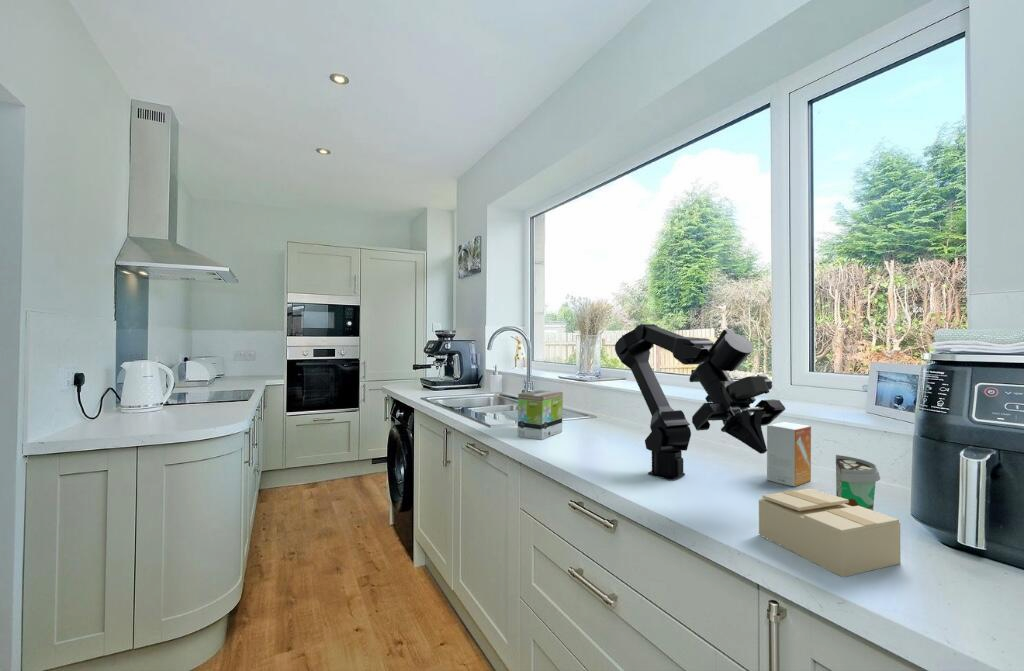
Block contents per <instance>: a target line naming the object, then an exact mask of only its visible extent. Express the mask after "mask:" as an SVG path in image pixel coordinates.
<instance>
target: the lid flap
mask: <svg viewBox="0 0 1024 671" xmlns="http://www.w3.org/2000/svg"><path fill="white" fill-rule="evenodd" d="M761 498H762V499H766V500H769V501H772V502H775V503H778V504H781V505H784V506H786V507H789V508H792V509H795V510H798V511H802V510H808V509H814V508H821V507H827V506H833V505H839V504H845V503H849V500H848V499H844V498H841V497H837V496H836V495H833V494H830V493H826V492H822V491H820V490H817V489H814V488H813V489H812V488H805V489H803V488H802V489H797V490H786V491H781V492H776V493H767V494H762V496H761Z"/></svg>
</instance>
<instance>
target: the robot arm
mask: <svg viewBox="0 0 1024 671" xmlns="http://www.w3.org/2000/svg"><path fill="white" fill-rule="evenodd" d="M719 334H720V335H719V336H718V338H717V339H716V341H715V342H713V341H712V340H711V339H709V338H705V337H704V338H702V337H691V336H684V335H680V334H678V333H675V332H673V331H670V330H668V329H665V328H662V327H659V326H658V325H656V324H654V323H653V324H652V323H650V324H647V323H643V324H642V323H641V324H638V325H637V326H636V327H635V328H633V330H630V331H629V332H627V333H625V334H623V335H621V337H619V338H618V340H617V341H616V342H615V344H614V352H615V354H616V355H617V357H618V358H619V360H620V362H621V363H622V364H624V365H625V366H626V367H627V368H628V369H629V370H631V372H632V375H633V377H634V379H635V381H636V384H637V385H638V388H639V390H640V393H641V395H642V397H643V400H644V401H645V403H646V405H647V409H648V411H649V413H650V414H651V418H650V419H651V420H650V426H649V428H650V431H651V432H650V433H649V434H648V435H647V437H646V438H645V440H644V444H645V449H646V450H648V451H651V470H650V471H648V472H647V475H650V476H653V477H657V478H661V479H665V480H669V481H674V480H677V479H679V478H682V477H684V476H686V473H685V472H684V457H682V456H683V454H682V452H683V451H684V452H686V451H687V450H688V449H689V445H690V440H691V436H692V432H691V431H692V430H691V428H690V426H691V424H690V423H689V421H688V420H687V419H686V416H685V414H684V412H683V410H679V409H678V410H674V408H672V407H671V405H670V403H669V401H668V399H667V397H666V395H665V393H664V391H663V389H662V386H661V385H660V383H659V381H658V379H657V376H656V374H655V372H654V371H653V368H652V366H651V364H650V362H649V360H650V355H651V352H650V350H651V349H652V348H653V347H654V345H655V346H657V347H659V348H662V349H664V350H666V351H668V352H670V353H671V354H672V356H673V358H674V359H675V360H677V361H678V362H679V363H681V364H683V365H688V366H689V365H690V366H691V365H692V366H693V365H697V366H696V368H695V369H691V371H690V372H691V373H690V376H689V382H690V383H700V385H701V386H702V388H703V390H704V391H705V392H706V394H707V395H706V396H705V401H706V402H704V403H702V405H701V406H700V407H699V408H698V409H697V410H696V412H694V414H693V415H692V416H691V423H692V425H693V426H694V428H695V430H696V432H697V431H708V430H709V429H710V427H711V424H710V422H709V421H712V422H713V421H722V424H723V426H722V427H721V428H720V431H721V433H726V434H728V435H729V436H732V437H733V438H735V439H737V440H738V441H740V442H741V443H744V445H746V446H748V447H750V448H751V449H752V450H754V451H755V452H756V453H759V454H760V455H762V454H765V453H767V443H766V442H765V438H764V432H763V428H762V426H767V425H771V423H772V422H773V421H774V420H776V419H777V418H778V417H779V416H780V415H781V414H782V413H783V412H784V411H785V410H786V407H785V405H784V404H783V403H782V401H781V400H779V399H761V400H760V401H759V402H758V403H757V404H755V406H752V407H751V404H754V403H755V402H756V400H757V399H756V397H758V396H761V395H763V394H769V393H770V391H771V389H772V388H773V384H772V383H773V382H772V380H771V379H770V378H769V377H768V376H767V375H766V374H765V373H761V374H757V375H756V376H754V375H753V376H750V375H749V376H745V377H743V378H739V379H738V380H733V379H732V377H731V375H730V374H729V373H728V372H735V371H736V370H737V369H738V368H739V367H740V366H741V365H742V363H743V362H744V361H745V360H746V359H747V358H748V357H749V355H751V353H753V350H754V346H753V343H752V342H751V341H750V340H749V339H746V338H745V337H744V336H743V335H740V334H738V333H736V332H734V330H733V329H723V330H722V331H721V333H719Z"/></svg>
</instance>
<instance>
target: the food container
mask: <svg viewBox="0 0 1024 671" xmlns="http://www.w3.org/2000/svg"><path fill="white" fill-rule="evenodd" d="M835 470H836V471H835V481H836V482H835V483H836V484H835V485H836V486H835V487H836V488H835V489H836V491H835V492H836V495H835V496H837V497H841V498H844V499H848V500H849V503H845V504H847V505H850V506H861V507H864V508H867V509H870V510H873V511H874V505H875V491H876V482H878V481H880V480H881V476H880V473H879V470H878V468H877V466H876V464H874V463H873V462H871V461H867V460H865V459H861V458H857V457H854V456H853V457H852V456H847V455H841V454H836V455H835Z"/></svg>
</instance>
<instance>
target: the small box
mask: <svg viewBox="0 0 1024 671" xmlns="http://www.w3.org/2000/svg"><path fill="white" fill-rule="evenodd" d="M766 448H767V451H766V480H767V481H770V482H774V483H778V484H781V485H785V486H790V487H794V488H795V487H797V486H800V485H803V484H806V483H808V482H811V481H812V479H811V478H812V474H811V473H812V462H811V461H812V426H811V425H806V424H799V423H794V422H787V421H782V422H777V423H773V424H768V425H766Z"/></svg>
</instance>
